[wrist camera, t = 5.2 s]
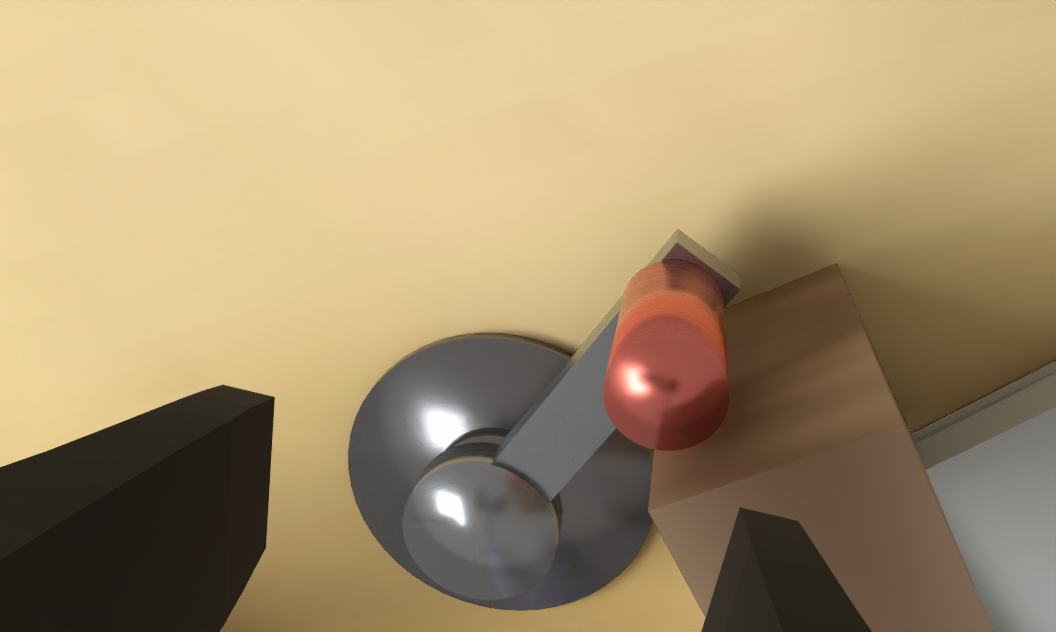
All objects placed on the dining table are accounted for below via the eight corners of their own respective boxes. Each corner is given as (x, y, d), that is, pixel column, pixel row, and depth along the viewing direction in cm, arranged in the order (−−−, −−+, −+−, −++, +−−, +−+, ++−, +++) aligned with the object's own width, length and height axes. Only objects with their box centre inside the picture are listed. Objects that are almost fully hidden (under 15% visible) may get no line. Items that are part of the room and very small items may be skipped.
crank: (507, 595, 20) (461, 749, 17) (389, 513, 20) (314, 651, 16) (777, 303, 17) (799, 412, 13) (638, 199, 17) (618, 278, 13)
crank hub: (719, 521, 20) (719, 545, 20) (477, 644, 23) (469, 670, 22) (528, 272, 19) (520, 287, 18) (292, 432, 21) (277, 452, 21)
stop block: (836, 263, 18) (902, 424, 12) (903, 416, 19) (995, 637, 13) (665, 333, 19) (647, 511, 13) (736, 473, 20) (750, 699, 14)
